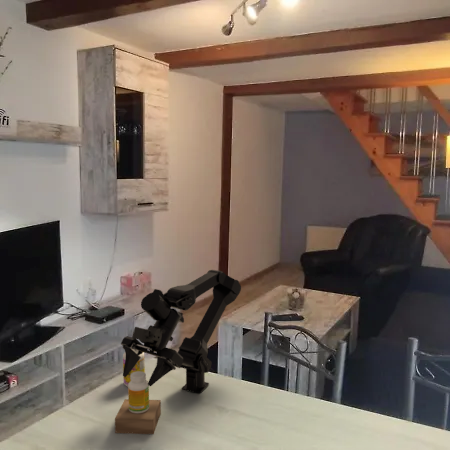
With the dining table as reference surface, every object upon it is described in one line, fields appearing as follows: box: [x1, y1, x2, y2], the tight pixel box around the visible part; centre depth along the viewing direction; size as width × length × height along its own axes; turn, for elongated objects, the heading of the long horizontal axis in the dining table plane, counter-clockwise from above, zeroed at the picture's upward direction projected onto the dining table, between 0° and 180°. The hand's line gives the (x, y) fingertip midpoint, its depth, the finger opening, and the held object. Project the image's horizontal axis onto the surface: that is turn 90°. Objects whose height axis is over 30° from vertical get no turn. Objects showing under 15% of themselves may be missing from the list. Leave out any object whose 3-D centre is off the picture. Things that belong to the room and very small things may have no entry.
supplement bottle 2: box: [127, 371, 150, 413], centre depth 127 cm, size 5×5×10 cm
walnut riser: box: [114, 399, 162, 435], centre depth 128 cm, size 10×10×4 cm
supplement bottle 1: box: [122, 352, 146, 388], centre depth 150 cm, size 7×7×13 cm
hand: (136, 380), depth 126 cm, fingers open, 9 cm apart
